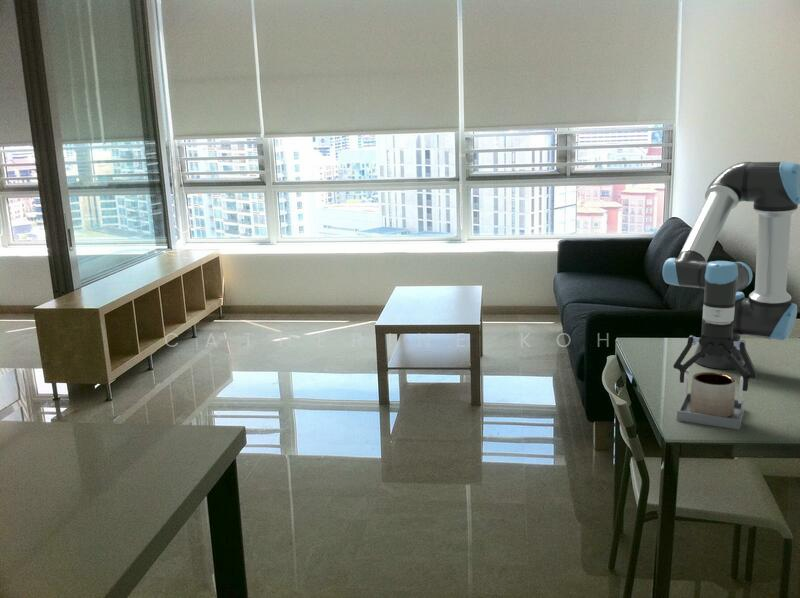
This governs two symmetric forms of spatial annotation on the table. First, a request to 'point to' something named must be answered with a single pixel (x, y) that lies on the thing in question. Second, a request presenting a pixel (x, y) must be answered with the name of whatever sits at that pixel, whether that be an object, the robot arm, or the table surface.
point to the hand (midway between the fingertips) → (712, 398)
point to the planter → (712, 394)
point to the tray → (730, 422)
